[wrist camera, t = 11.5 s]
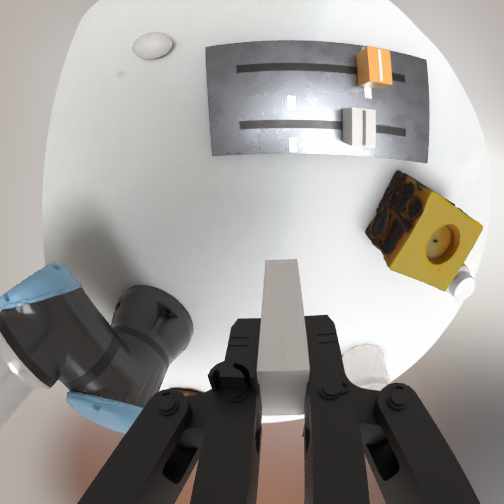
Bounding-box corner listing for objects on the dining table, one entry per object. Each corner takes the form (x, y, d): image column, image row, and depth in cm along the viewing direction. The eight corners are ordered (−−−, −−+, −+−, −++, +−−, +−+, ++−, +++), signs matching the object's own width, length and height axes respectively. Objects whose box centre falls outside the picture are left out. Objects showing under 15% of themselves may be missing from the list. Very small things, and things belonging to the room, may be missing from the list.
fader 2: (342, 142, 28) (352, 146, 24) (342, 109, 26) (352, 107, 22) (363, 143, 27) (375, 148, 23) (363, 110, 26) (376, 109, 22)
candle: (363, 232, 35) (385, 270, 26) (395, 167, 30) (430, 187, 22) (415, 257, 36) (443, 295, 27) (446, 199, 31) (485, 226, 22)
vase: (330, 363, 48) (335, 415, 37) (362, 337, 44) (375, 391, 33) (359, 376, 49) (367, 424, 39) (390, 352, 45) (404, 401, 35)
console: (216, 154, 32) (212, 156, 31) (209, 50, 26) (205, 46, 24) (420, 160, 29) (427, 163, 27) (419, 62, 23) (426, 59, 21)
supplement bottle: (437, 243, 34) (463, 271, 27) (456, 250, 34) (482, 278, 27) (424, 269, 36) (446, 301, 29) (444, 275, 36) (466, 305, 29)
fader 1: (358, 86, 24) (370, 81, 20) (356, 55, 22) (367, 45, 18) (378, 88, 24) (392, 84, 20) (376, 58, 22) (389, 50, 18)
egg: (176, 60, 27) (164, 55, 23) (137, 62, 27) (122, 58, 24) (181, 35, 25) (170, 27, 22) (141, 38, 25) (128, 32, 22)
